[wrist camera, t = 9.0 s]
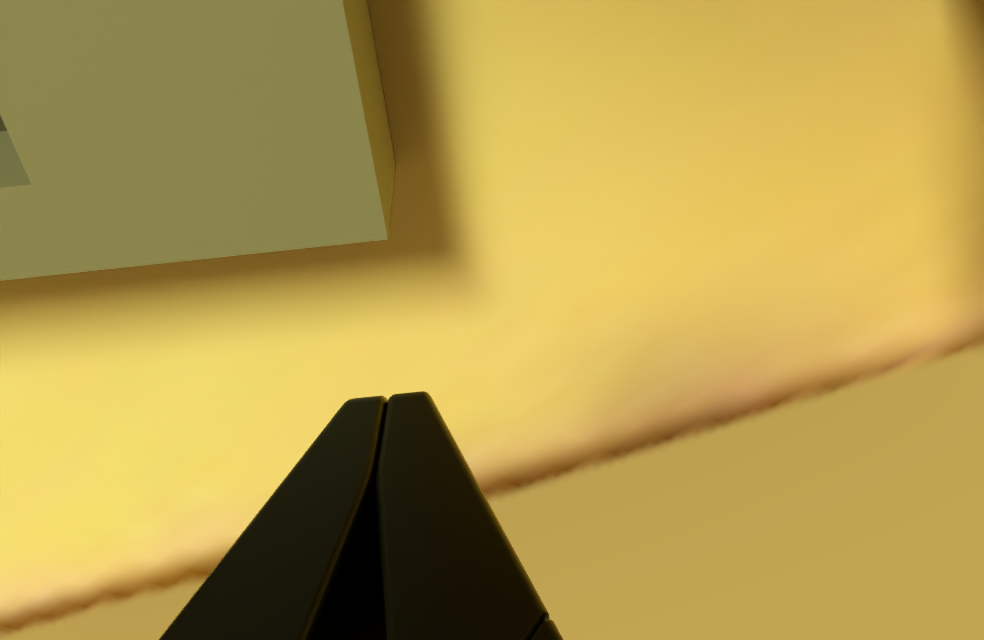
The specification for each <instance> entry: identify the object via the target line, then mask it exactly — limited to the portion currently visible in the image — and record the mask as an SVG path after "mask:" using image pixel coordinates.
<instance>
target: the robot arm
mask: <svg viewBox="0 0 984 640" xmlns="http://www.w3.org/2000/svg"><path fill="white" fill-rule="evenodd" d="M159 640H563V639H562V637H561V635H560V633H559V632H558V629H557V627H556V626H555V624H554V622H553V621H552V620H550V619H549V614H548V612H547V610H546V608H545V606H544V605H543V603H542V601H541V599H540V597H539V595H538V593H537V592H536V590H535V588H534V586H533V584H532V582H531V581H530V579H529V577H528V575H527V573H526V571H525V569H524V567H523V566H522V564H521V562H520V560H519V558H518V557H517V555H516V553H515V551H514V549H513V548H512V546H511V544H510V542H509V540H508V538H507V536H506V534H505V532H504V531H503V529H502V527H501V525H500V523H499V521H498V519H497V518H496V516H495V514H494V512H493V510H492V508H491V507H490V505H489V503H488V501H487V499H486V497H485V495H484V494H483V492H482V490H481V488H480V486H479V484H478V483H477V481H476V479H475V477H474V475H473V473H472V471H471V470H470V468H469V466H468V464H467V462H466V460H465V459H464V457H463V455H462V453H461V451H460V449H459V447H458V446H457V444H456V442H455V440H454V438H453V436H452V435H451V433H450V431H449V429H448V427H447V425H446V423H445V422H444V420H443V418H442V416H441V414H440V412H439V411H438V409H437V407H436V405H435V403H434V401H433V399H432V398H431V396H430V395H429V394H428V393H427V392H423V391H421V392H412V393H402V394H394V395H392V396H391V397H390V398H389V400H387V399H386V398H385V397H384V396H374V397H364V398H354V399H350V400H348V401H347V402H345V403H344V404H343V405H342V407H341V408H340V409H339V410H338V412H337V413H336V414H335V416H334V417H333V418H332V419H331V421H330V422H329V423H328V424H327V426H326V427H325V428H324V430H323V431H322V432H321V433H320V435H319V436H318V437H317V439H316V440H315V441H314V442H313V444H312V445H311V446H310V447H309V449H308V450H307V451H306V453H305V454H304V455H303V456H302V458H301V459H300V460H299V461H298V463H297V464H296V465H295V467H294V468H293V469H292V470H291V472H290V473H289V474H288V475H287V477H286V478H285V479H284V481H283V482H282V483H281V484H280V486H279V487H278V488H277V489H276V491H275V492H274V493H273V495H272V496H271V497H270V498H269V500H268V501H267V502H266V503H265V505H264V506H263V507H262V509H261V510H260V511H259V512H258V514H257V515H256V516H255V517H254V519H253V520H252V521H251V523H250V524H249V525H248V526H247V528H246V529H245V530H244V531H243V533H242V534H241V535H240V537H239V538H238V539H237V540H236V542H235V543H234V544H233V545H232V547H231V548H230V549H229V551H228V552H227V553H226V554H225V556H224V557H223V558H222V559H221V561H220V562H219V563H218V565H217V566H216V567H215V568H214V570H213V571H212V572H211V573H210V575H209V576H208V577H207V579H206V580H205V581H204V582H203V584H202V585H201V586H200V587H199V589H198V590H197V591H196V593H195V594H194V595H193V597H192V598H191V599H190V600H189V602H188V603H187V604H186V605H185V607H184V608H183V610H181V612H180V613H179V614H178V616H177V617H176V618H175V619H174V621H173V622H172V623H171V624H170V626H169V627H168V628H167V630H166V631H165V632H164V633H163V635H162V636H161V637H160V639H159Z"/></svg>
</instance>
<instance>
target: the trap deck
mask: <svg viewBox="0 0 984 640" xmlns="http://www.w3.org/2000/svg"><path fill="white" fill-rule="evenodd" d="M395 171H396V163H395V157H394V151H393V146H392V140H391V134H390V128H389V123H388V117H387V111H386V105H385V100H384V94H383V88H382V83H381V77H380V71H379V65H378V60H377V54H376V48H375V42H374V37H373V31H372V25H371V19H370V14H369V8H368V2H367V0H0V281H3V280H13V279H22V278H31V277H41V276H50V275H60V274H69V273H78V272H88V271H97V270H107V269H116V268H125V267H135V266H144V265H154V264H163V263H172V262H182V261H191V260H201V259H210V258H219V257H229V256H238V255H248V254H257V253H266V252H276V251H285V250H295V249H304V248H313V247H323V246H332V245H342V244H351V243H360V242H370V241H379V240H388V235H389V226H390V216H391V207H392V198H393V189H394V180H395Z"/></svg>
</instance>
